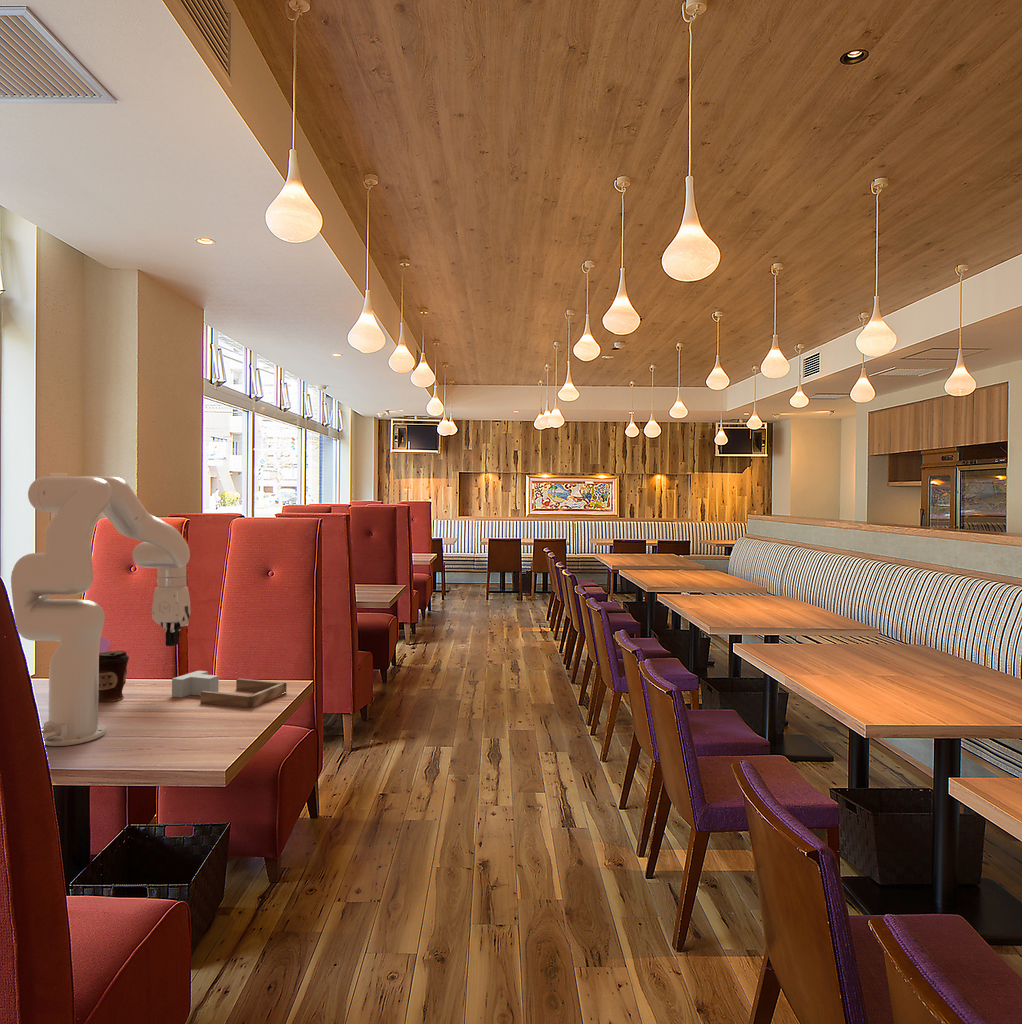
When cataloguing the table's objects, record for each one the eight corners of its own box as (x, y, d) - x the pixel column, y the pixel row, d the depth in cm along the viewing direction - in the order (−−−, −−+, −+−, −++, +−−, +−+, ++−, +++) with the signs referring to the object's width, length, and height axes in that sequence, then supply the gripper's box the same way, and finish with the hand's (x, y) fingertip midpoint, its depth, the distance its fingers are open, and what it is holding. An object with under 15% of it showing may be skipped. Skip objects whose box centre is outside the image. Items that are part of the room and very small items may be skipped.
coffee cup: (115, 704, 175) (115, 656, 175) (84, 704, 175) (85, 655, 175) (134, 695, 184) (135, 649, 184) (105, 695, 184) (106, 649, 184)
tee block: (201, 699, 181) (201, 681, 181) (171, 696, 184) (172, 678, 184) (226, 690, 190) (226, 673, 190) (198, 687, 193) (198, 670, 193)
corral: (251, 708, 173) (251, 697, 173) (200, 702, 178) (200, 691, 178) (286, 693, 188) (286, 682, 188) (239, 688, 192) (239, 678, 192)
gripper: (141, 583, 189) (141, 646, 189) (183, 585, 184) (183, 649, 185) (161, 579, 196) (161, 640, 196) (202, 582, 192) (202, 644, 192)
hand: (172, 644), depth 190 cm, fingers closed
